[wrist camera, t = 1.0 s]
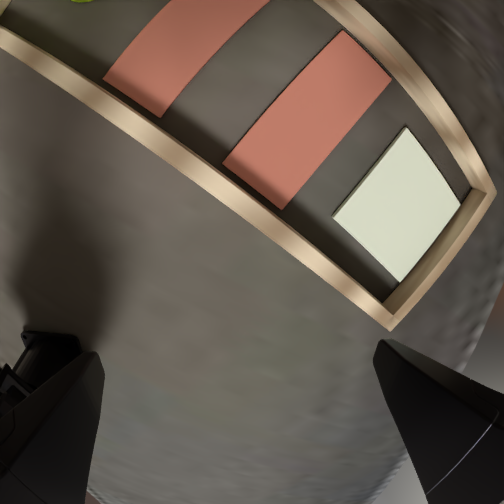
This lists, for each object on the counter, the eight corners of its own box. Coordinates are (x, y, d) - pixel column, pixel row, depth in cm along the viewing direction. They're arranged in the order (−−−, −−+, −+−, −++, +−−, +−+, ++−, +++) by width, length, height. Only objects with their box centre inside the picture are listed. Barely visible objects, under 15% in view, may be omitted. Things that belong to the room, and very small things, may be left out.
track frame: (-18, 31, 11) (-31, 27, 9) (110, -104, 8) (105, -115, 6) (380, 319, 25) (390, 331, 24) (482, 187, 22) (497, 193, 20)
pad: (331, 216, 21) (333, 217, 21) (403, 127, 19) (406, 127, 19) (397, 280, 24) (399, 282, 24) (457, 203, 22) (460, 204, 22)
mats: (104, 79, 16) (102, 79, 15) (229, -48, 13) (230, -49, 13) (280, 209, 20) (281, 210, 20) (389, 80, 18) (392, 79, 17)
